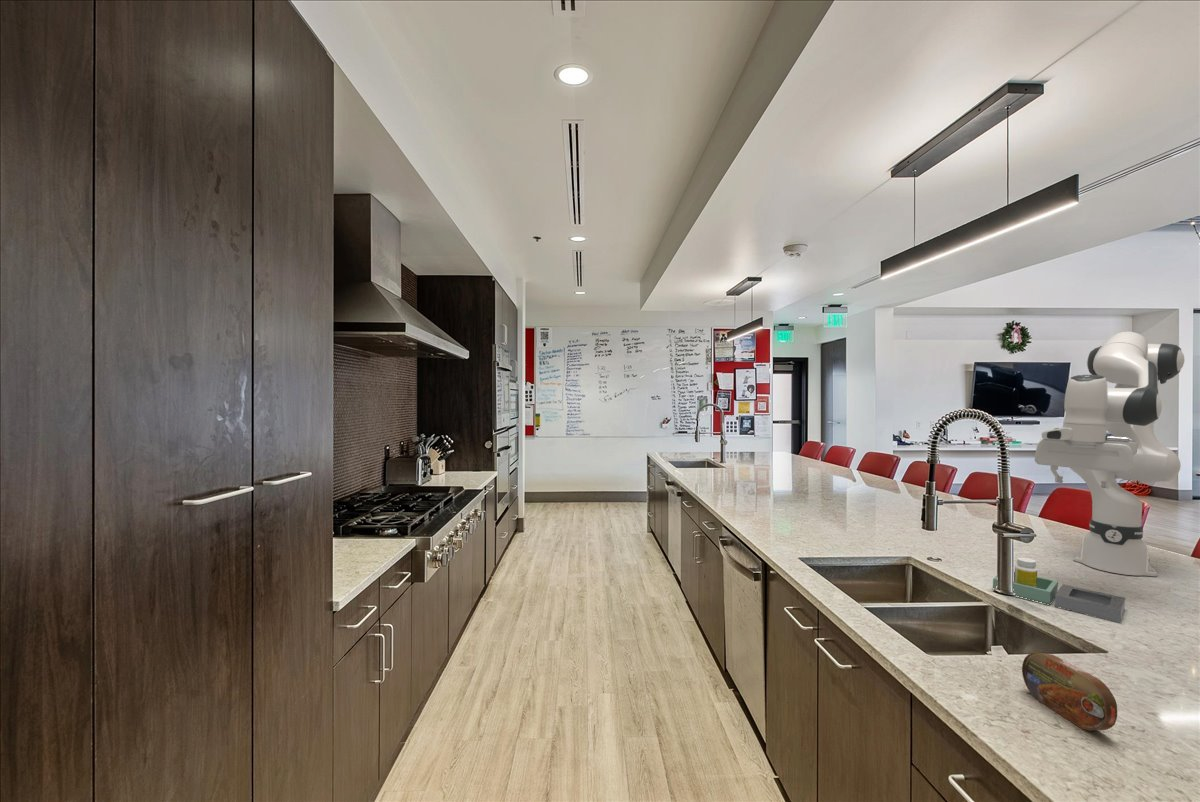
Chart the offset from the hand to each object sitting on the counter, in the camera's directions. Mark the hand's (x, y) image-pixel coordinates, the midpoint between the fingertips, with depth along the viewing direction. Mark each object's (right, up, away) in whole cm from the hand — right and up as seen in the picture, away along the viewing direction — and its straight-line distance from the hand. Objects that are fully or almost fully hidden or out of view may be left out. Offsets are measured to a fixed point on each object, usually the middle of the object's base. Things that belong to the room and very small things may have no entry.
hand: (1081, 485), depth 147 cm
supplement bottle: (-16, -28, -1) cm, 33 cm away
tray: (-16, -29, -1) cm, 33 cm away
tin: (-52, -30, -55) cm, 82 cm away
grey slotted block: (-7, -29, -11) cm, 32 cm away
